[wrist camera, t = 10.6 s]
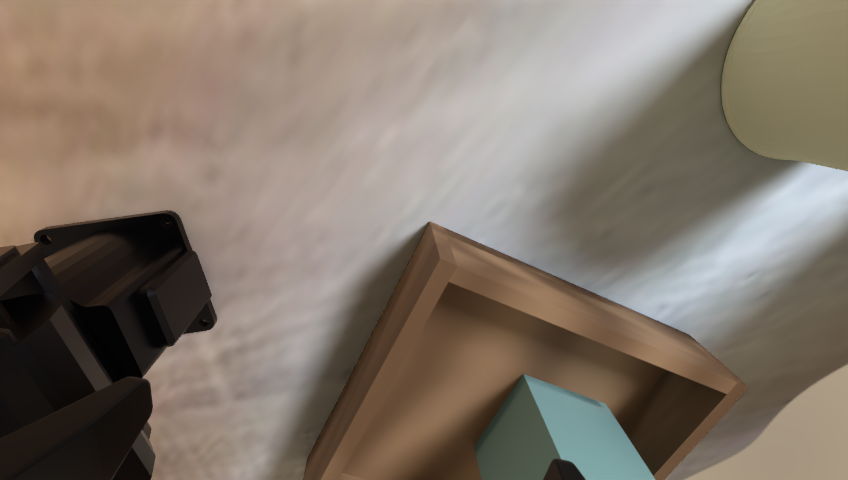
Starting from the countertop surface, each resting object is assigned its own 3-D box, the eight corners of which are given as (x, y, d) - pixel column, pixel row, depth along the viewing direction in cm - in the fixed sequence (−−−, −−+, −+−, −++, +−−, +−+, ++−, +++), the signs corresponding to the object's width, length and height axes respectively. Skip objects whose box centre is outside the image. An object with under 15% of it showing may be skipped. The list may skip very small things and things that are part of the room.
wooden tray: (307, 459, 26) (292, 531, 22) (429, 221, 21) (440, 258, 17) (537, 520, 31) (561, 591, 26) (689, 335, 25) (748, 387, 21)
